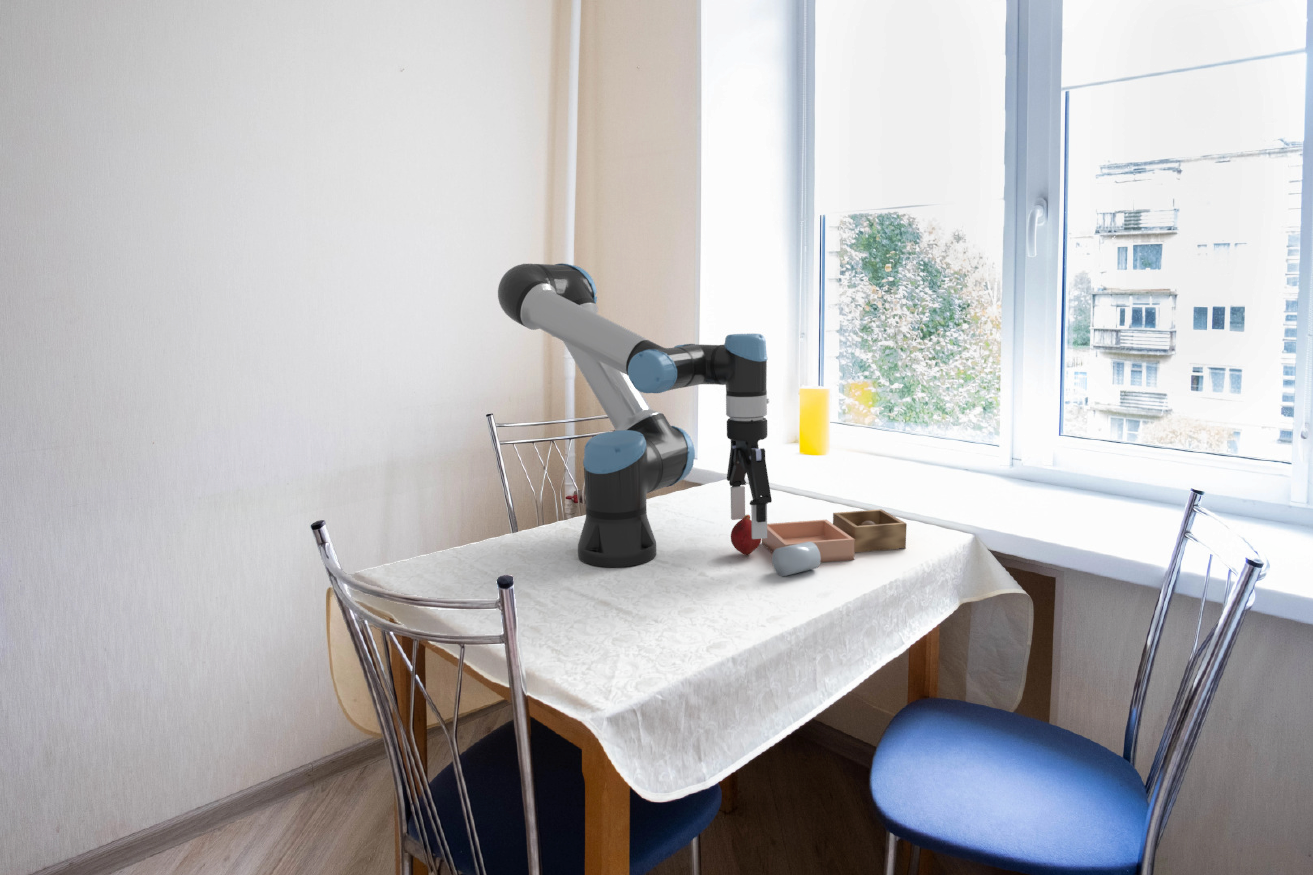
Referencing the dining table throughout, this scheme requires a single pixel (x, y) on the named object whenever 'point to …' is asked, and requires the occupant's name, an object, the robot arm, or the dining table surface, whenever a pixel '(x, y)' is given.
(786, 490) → the dining table surface
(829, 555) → the tray
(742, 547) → the onion
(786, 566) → the pale blue capsule
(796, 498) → the dining table surface
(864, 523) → the chestnut
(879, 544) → the crate
